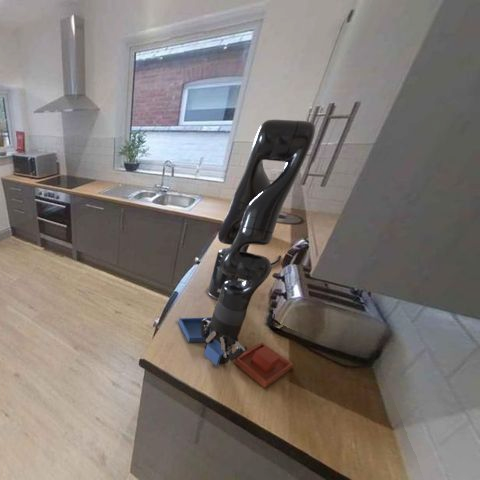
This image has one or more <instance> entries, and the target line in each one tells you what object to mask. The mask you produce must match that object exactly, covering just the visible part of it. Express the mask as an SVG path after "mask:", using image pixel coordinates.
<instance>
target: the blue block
mask: <svg viewBox="0 0 480 480" xmlns="http://www.w3.org/2000/svg"><path fill="white" fill-rule="evenodd" d="M203 355H204V356H205V357H206V358H207V359H208V360H210V361H211V362H212V364H214V365H215V366H216V367H218V366H219V365H221V364H220V360H221V357H222V355H223V350H222V349H221V344H220V343H219V342H218V341H217V340H215V341H213V342H211V343H209V344H207V347H206V350H205V349H204V354H203Z"/></svg>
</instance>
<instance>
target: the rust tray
mask: <svg viewBox="0 0 480 480" xmlns="http://www.w3.org/2000/svg"><path fill="white" fill-rule="evenodd" d="M264 346H265V347H266V348H268V349H269V350H271V351H272V352H273V353H275V354H276V355H278V356H279V357H280V359H279V361H278V363H277V365H276V367H275V368H274V369H272V370H271V371H269V372H268V373H267V374H266V373H265V372H263V371H262V370H261V369H260V368H258V367H257V366H256V365H254V364H253V363H252V362H251V361H252V359H253V356H254V354H255V352H256V351H257V350H259V349H261V348H262V347H264ZM233 363H234V364H235V365H236V366H237V367H238V368H240V370H242V371H243V372H245V373H246V374H247V375H248V376H250V378H251V379H253V380H254V381H256V382H257V383H258V384H259V385H260V386H262V387H263V388H264V389H266V388H267V387H268V386H270V385H271V384H272V383H273V382H275V381H276V380H278V379H279V378H281V377H282V376H283V375H285V374H286V373H287V372H289V371H291V370H292V368H293V366H294V363H292V362H291V361H289V360H288V359H287V358H286V357H284V356H282V355H280V354H279V353H278V352H277V351H276V350H273V349H272V348H270V347H269V346H268V345H266V344H265V343H263V342H260V343H258V344H257V345H255V346H252V348H250V349H247V350H246V351H245V352H244V353H243V354H242V355H240V356H239V357H238V358H237V359H235V360H233Z"/></svg>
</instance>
